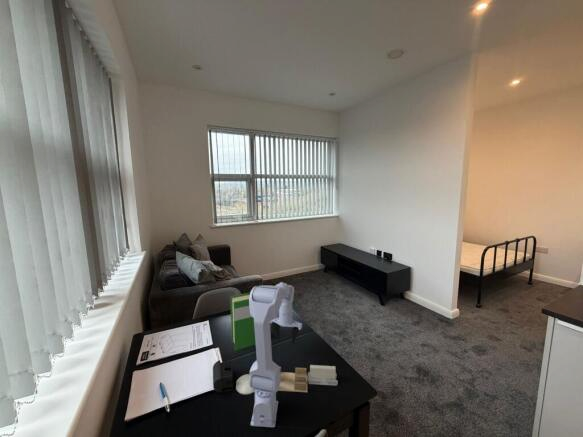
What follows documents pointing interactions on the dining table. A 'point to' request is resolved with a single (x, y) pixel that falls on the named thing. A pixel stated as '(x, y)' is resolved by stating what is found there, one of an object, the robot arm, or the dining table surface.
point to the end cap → (222, 376)
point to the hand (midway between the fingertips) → (285, 340)
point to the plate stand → (328, 382)
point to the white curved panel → (322, 372)
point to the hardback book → (242, 322)
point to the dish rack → (294, 380)
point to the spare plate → (244, 385)
